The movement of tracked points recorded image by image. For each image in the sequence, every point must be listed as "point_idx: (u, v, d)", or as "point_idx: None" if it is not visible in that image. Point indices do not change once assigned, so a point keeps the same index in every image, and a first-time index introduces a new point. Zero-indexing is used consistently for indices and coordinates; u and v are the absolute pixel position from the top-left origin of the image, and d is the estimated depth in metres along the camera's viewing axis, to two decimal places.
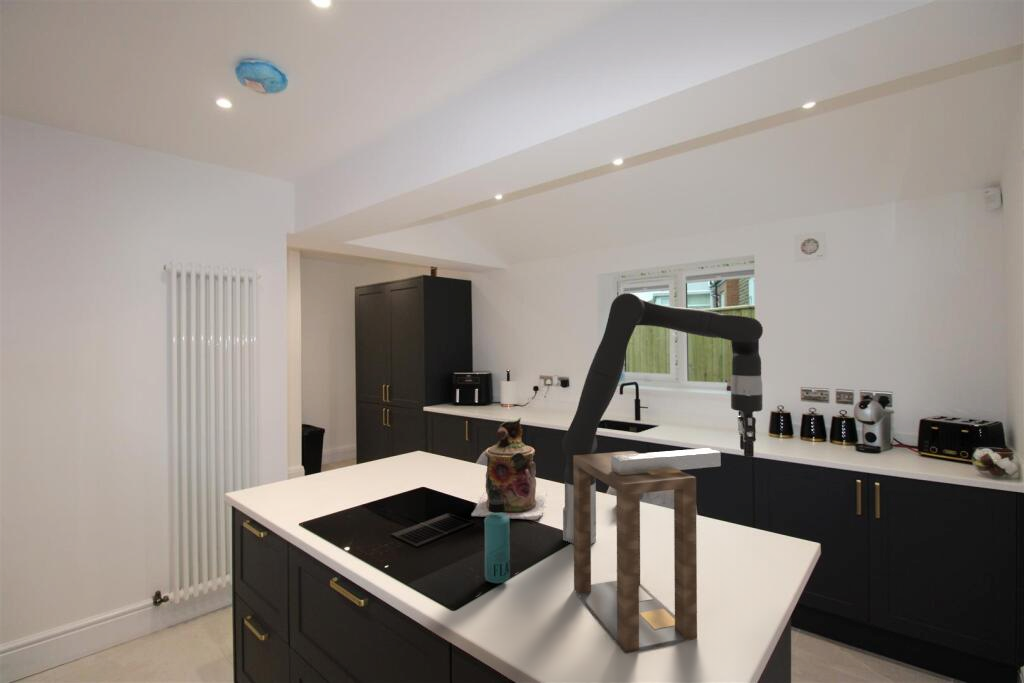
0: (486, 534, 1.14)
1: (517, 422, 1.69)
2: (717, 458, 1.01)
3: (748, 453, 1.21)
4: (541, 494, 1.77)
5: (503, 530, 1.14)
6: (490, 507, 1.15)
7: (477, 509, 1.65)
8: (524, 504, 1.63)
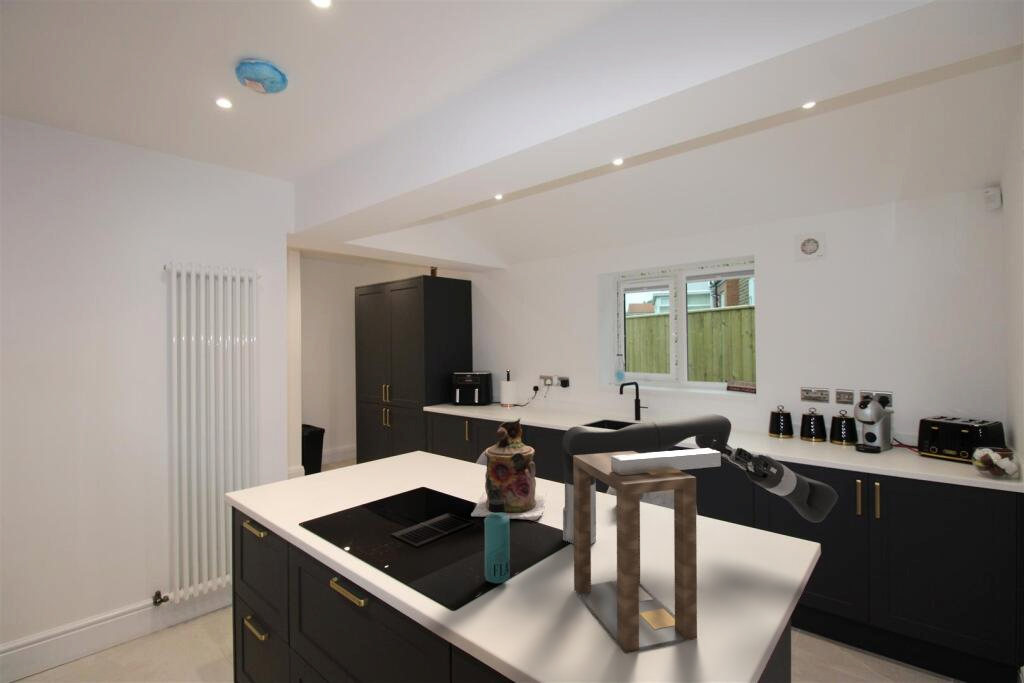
0: (486, 534, 1.14)
1: (517, 422, 1.69)
2: (717, 458, 1.01)
3: (743, 453, 1.11)
4: (541, 494, 1.77)
5: (503, 530, 1.14)
6: (490, 507, 1.15)
7: (477, 509, 1.65)
8: (524, 504, 1.63)
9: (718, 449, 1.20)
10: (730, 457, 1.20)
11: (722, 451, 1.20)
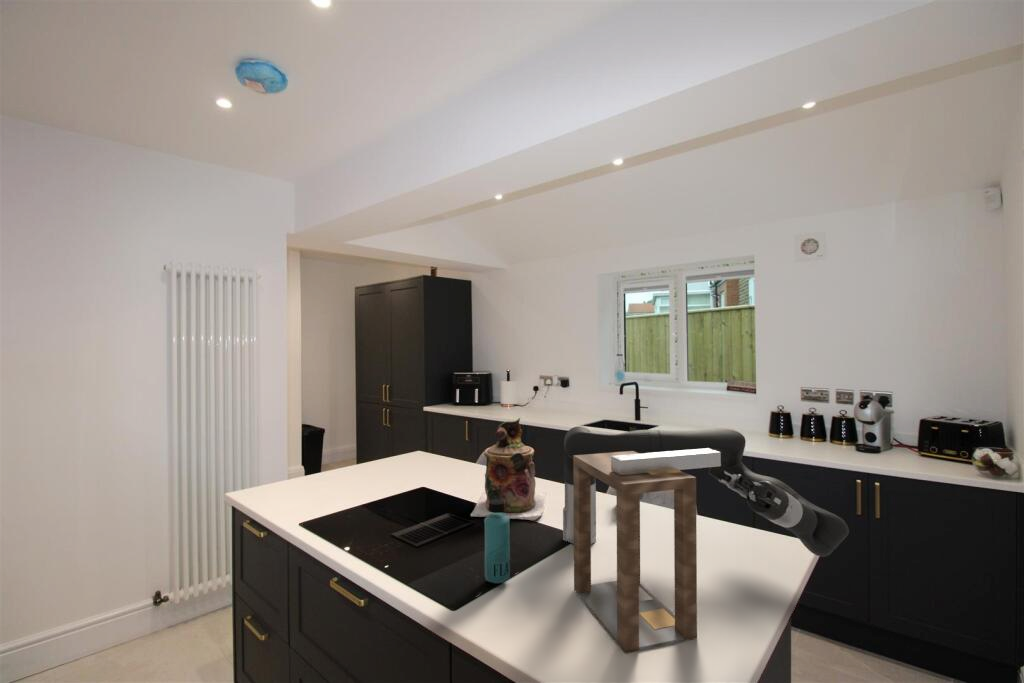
0: (486, 534, 1.14)
1: (516, 422, 1.68)
2: (717, 458, 1.01)
3: (744, 481, 0.99)
4: (540, 494, 1.77)
5: (503, 530, 1.14)
6: (490, 507, 1.15)
7: (476, 509, 1.65)
8: (523, 504, 1.62)
9: (716, 475, 1.08)
10: (729, 484, 1.08)
11: (720, 477, 1.09)
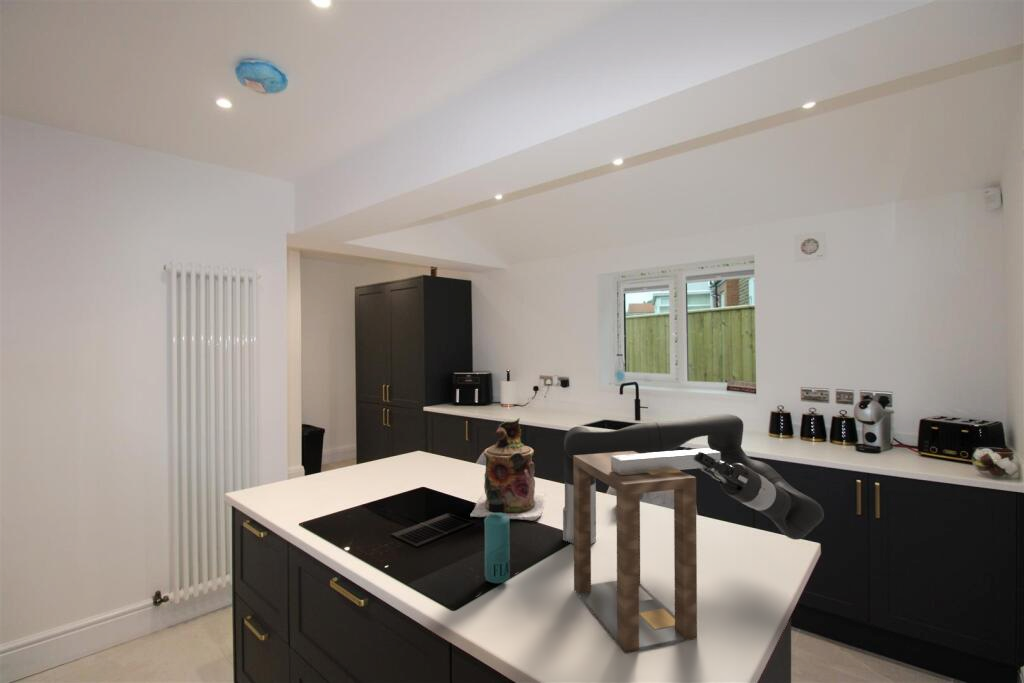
0: (486, 534, 1.14)
1: (516, 422, 1.68)
2: (717, 458, 1.01)
3: (704, 458, 0.99)
4: (540, 494, 1.77)
5: (503, 530, 1.14)
6: (490, 507, 1.15)
7: (476, 509, 1.65)
8: (523, 504, 1.62)
9: None
10: None
11: None
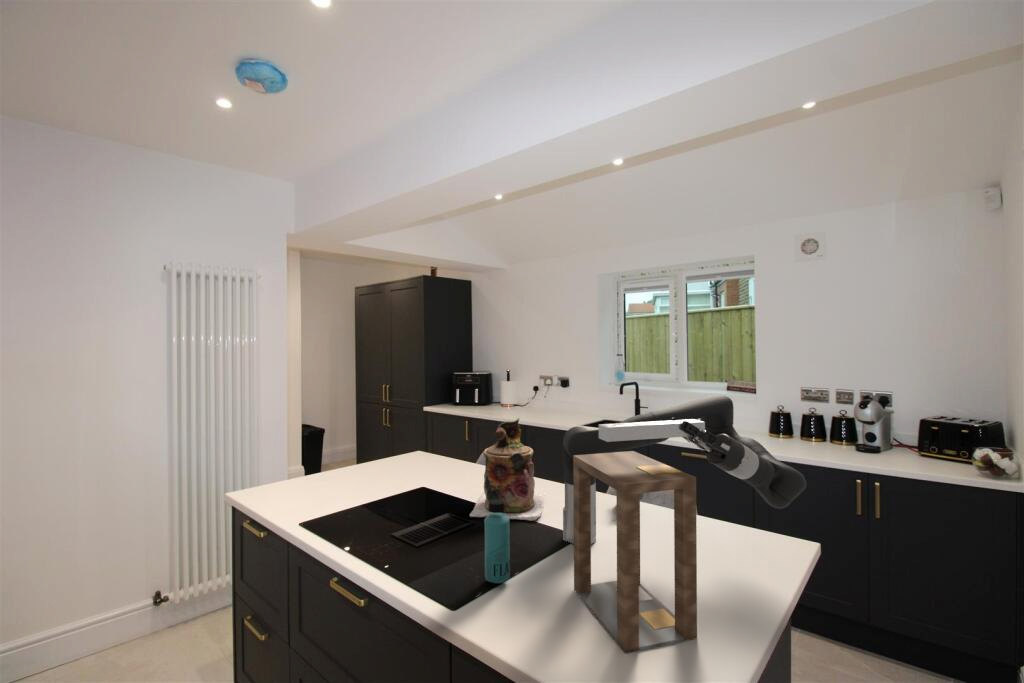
0: (486, 534, 1.14)
1: (515, 422, 1.68)
2: (701, 427, 1.05)
3: (688, 426, 1.03)
4: (540, 494, 1.77)
5: (503, 530, 1.14)
6: (490, 507, 1.15)
7: (475, 510, 1.65)
8: (522, 505, 1.62)
9: None
10: (690, 437, 1.09)
11: None
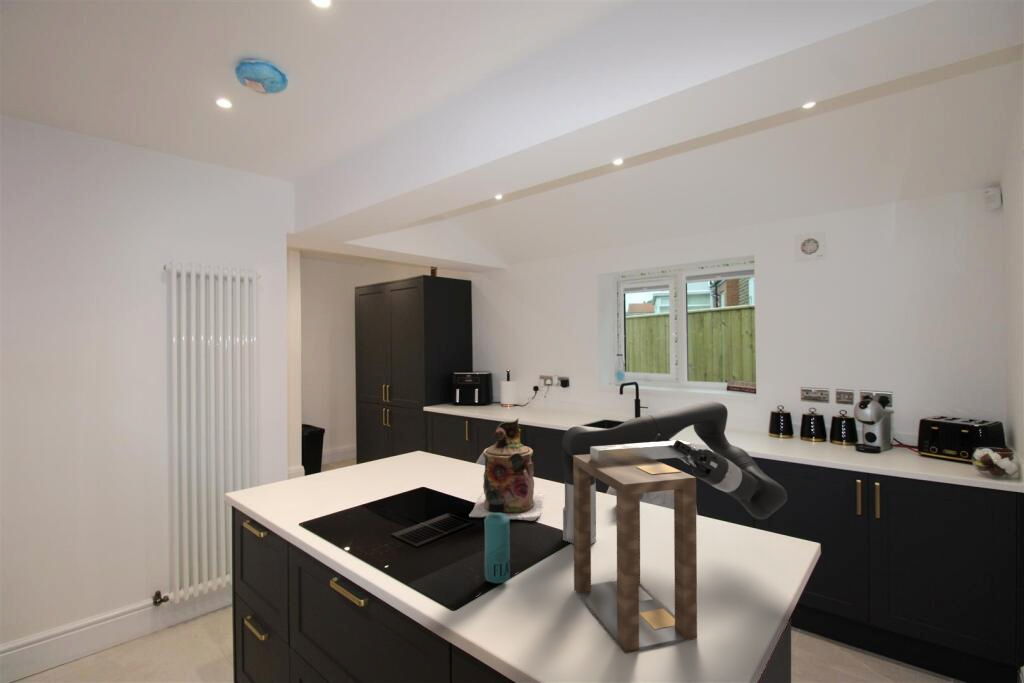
0: (486, 534, 1.14)
1: (515, 422, 1.68)
2: None
3: (681, 446, 1.07)
4: (539, 495, 1.77)
5: (503, 530, 1.14)
6: (490, 507, 1.15)
7: (475, 510, 1.65)
8: (522, 505, 1.62)
9: None
10: None
11: None
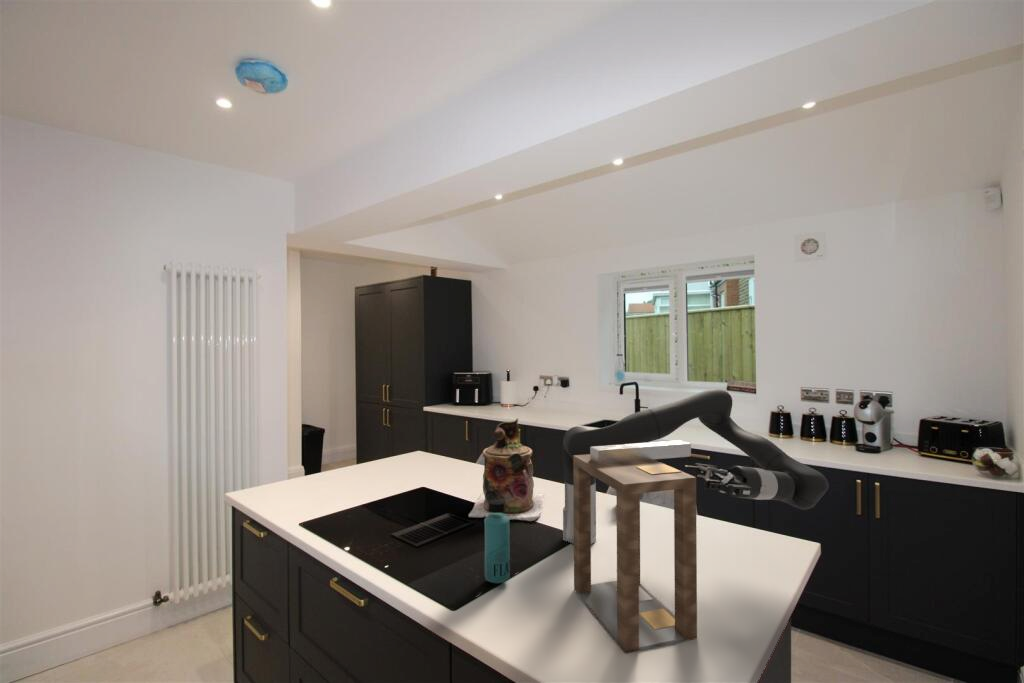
0: (486, 534, 1.14)
1: (514, 422, 1.68)
2: (687, 448, 1.11)
3: (711, 485, 1.08)
4: (539, 495, 1.76)
5: (503, 530, 1.14)
6: (490, 507, 1.15)
7: (474, 510, 1.65)
8: (521, 505, 1.62)
9: (691, 473, 1.18)
10: (705, 477, 1.18)
11: (696, 474, 1.18)
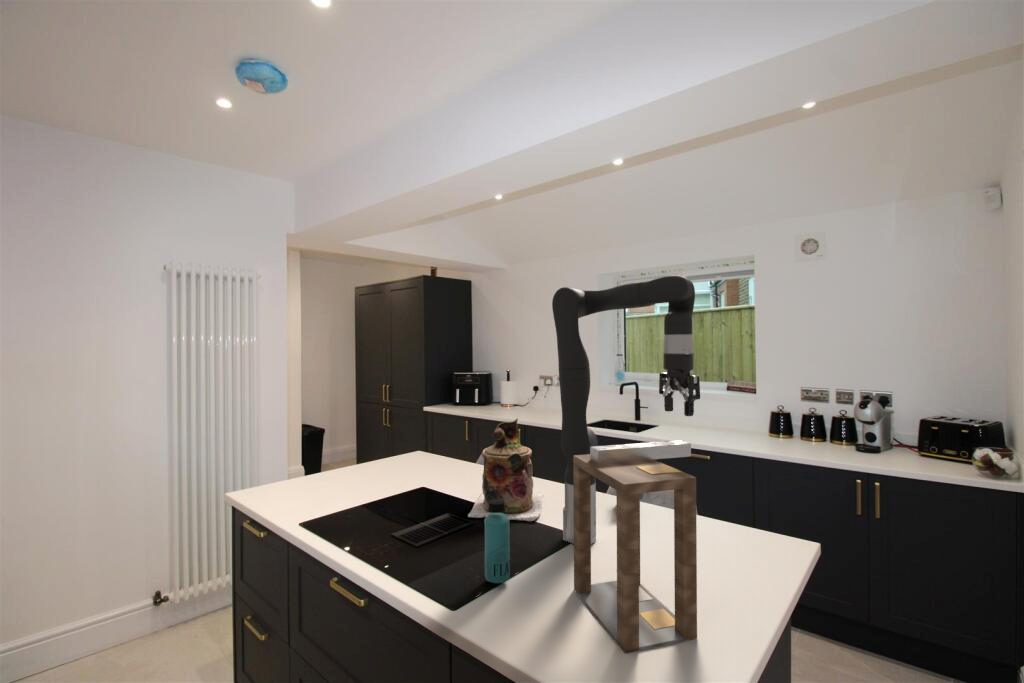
0: (486, 534, 1.14)
1: (514, 423, 1.68)
2: (687, 448, 1.11)
3: (690, 412, 1.19)
4: (538, 495, 1.76)
5: (503, 530, 1.14)
6: (490, 507, 1.15)
7: (474, 510, 1.64)
8: (521, 505, 1.62)
9: (671, 403, 1.28)
10: (674, 391, 1.28)
11: (671, 399, 1.28)
